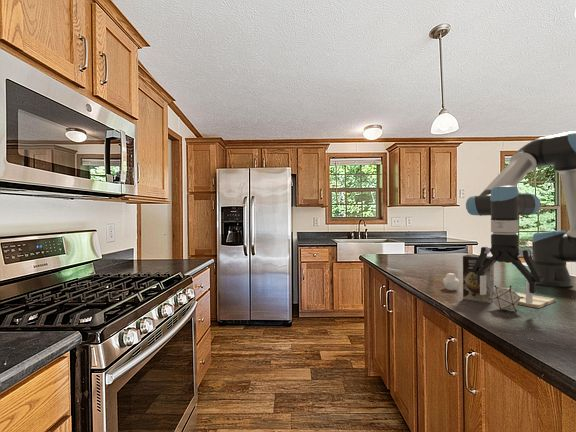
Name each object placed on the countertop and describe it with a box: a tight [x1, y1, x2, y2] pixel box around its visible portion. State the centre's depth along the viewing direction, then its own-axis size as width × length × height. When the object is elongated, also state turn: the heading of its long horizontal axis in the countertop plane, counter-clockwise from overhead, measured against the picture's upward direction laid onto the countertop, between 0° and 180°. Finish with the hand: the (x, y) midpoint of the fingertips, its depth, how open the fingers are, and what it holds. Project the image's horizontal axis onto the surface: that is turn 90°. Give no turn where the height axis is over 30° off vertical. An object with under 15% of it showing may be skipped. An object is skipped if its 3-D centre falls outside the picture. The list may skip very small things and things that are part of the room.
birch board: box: [515, 291, 556, 309], centre depth 117 cm, size 14×13×1 cm
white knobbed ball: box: [442, 272, 460, 291], centre depth 136 cm, size 6×6×7 cm
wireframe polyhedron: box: [488, 285, 524, 313], centre depth 106 cm, size 9×8×10 cm
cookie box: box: [462, 254, 495, 304], centre depth 120 cm, size 9×6×16 cm
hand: (505, 298), depth 106 cm, fingers open, 13 cm apart
